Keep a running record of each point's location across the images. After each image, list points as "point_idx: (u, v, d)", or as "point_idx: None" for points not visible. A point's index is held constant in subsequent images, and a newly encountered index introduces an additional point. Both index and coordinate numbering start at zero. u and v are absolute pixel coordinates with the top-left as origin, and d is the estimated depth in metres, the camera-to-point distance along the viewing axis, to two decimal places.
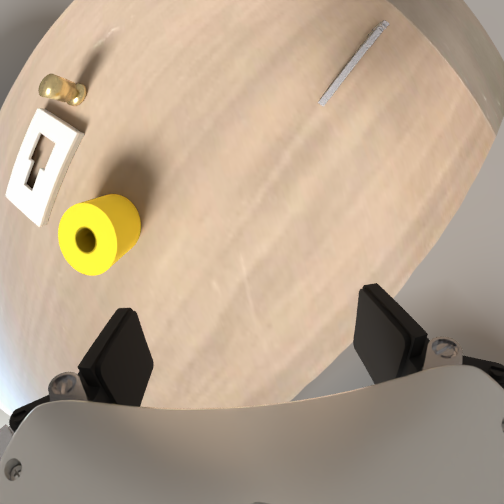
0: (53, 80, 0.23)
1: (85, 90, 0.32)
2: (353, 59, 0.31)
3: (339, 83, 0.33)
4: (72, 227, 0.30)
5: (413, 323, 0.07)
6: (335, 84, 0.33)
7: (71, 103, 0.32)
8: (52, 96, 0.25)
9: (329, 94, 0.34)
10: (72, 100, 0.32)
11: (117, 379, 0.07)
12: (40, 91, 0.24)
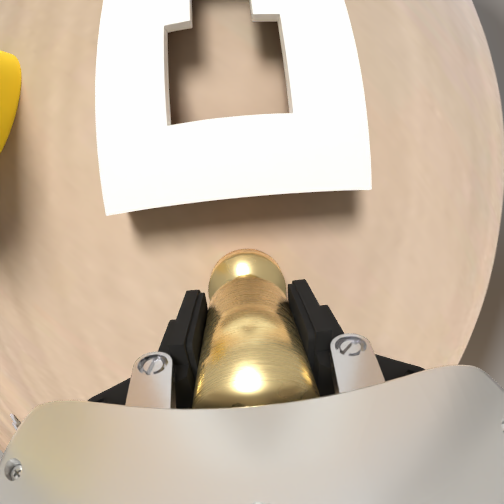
0: None
1: None
2: None
3: None
4: None
5: (322, 318, 0.08)
6: None
7: (234, 263, 0.13)
8: (204, 367, 0.07)
9: (15, 427, 0.20)
10: (238, 273, 0.14)
11: None
12: (284, 393, 0.06)
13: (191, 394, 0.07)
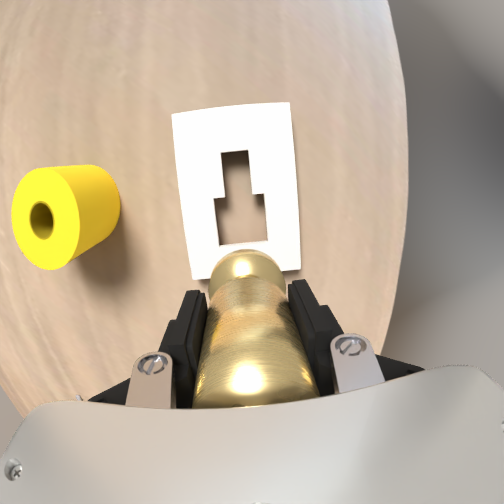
0: None
1: None
2: None
3: None
4: (60, 220, 0.20)
5: (322, 318, 0.08)
6: None
7: (234, 263, 0.13)
8: (204, 367, 0.07)
9: None
10: (238, 273, 0.14)
11: None
12: (284, 394, 0.06)
13: (191, 394, 0.07)
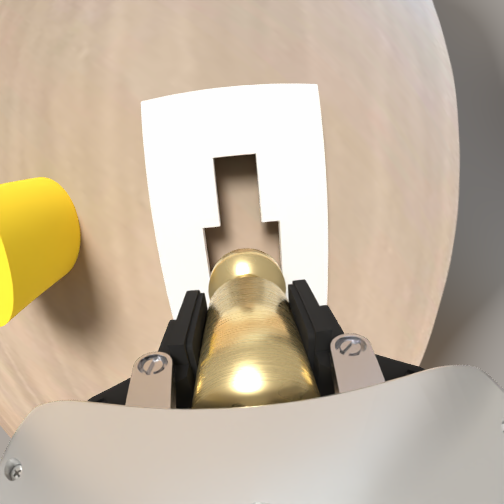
0: None
1: None
2: None
3: None
4: None
5: (322, 318, 0.08)
6: None
7: (234, 263, 0.13)
8: (203, 367, 0.07)
9: None
10: (238, 272, 0.13)
11: None
12: (284, 393, 0.06)
13: (191, 394, 0.07)
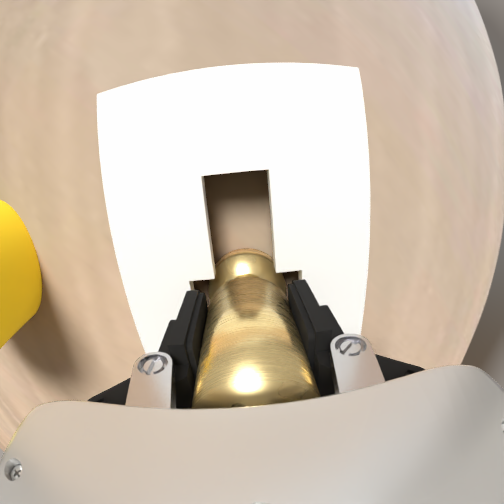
0: None
1: None
2: None
3: None
4: None
5: (322, 318, 0.08)
6: None
7: (234, 263, 0.13)
8: (203, 367, 0.07)
9: None
10: (238, 272, 0.14)
11: None
12: (284, 393, 0.06)
13: (191, 394, 0.07)
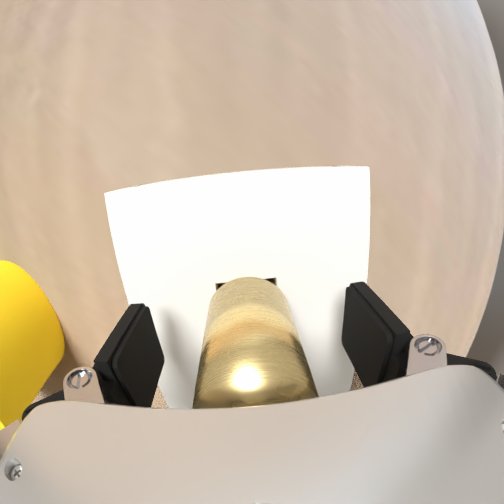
0: None
1: None
2: None
3: None
4: None
5: (396, 320, 0.07)
6: None
7: None
8: (204, 365, 0.07)
9: None
10: None
11: (132, 373, 0.08)
12: (282, 391, 0.06)
13: None
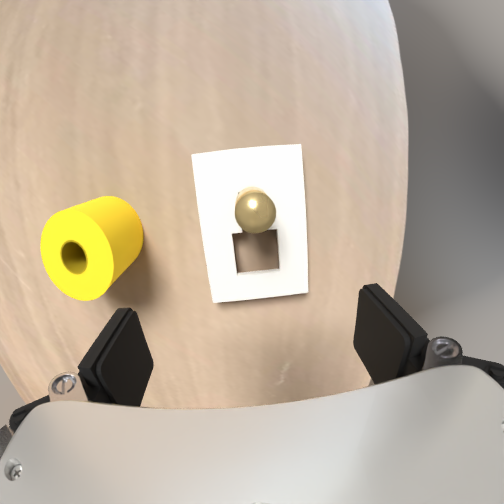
0: (246, 226, 0.24)
1: None
2: None
3: None
4: (94, 258, 0.24)
5: (413, 323, 0.07)
6: None
7: None
8: (238, 199, 0.24)
9: None
10: None
11: (117, 379, 0.07)
12: (262, 198, 0.23)
13: None
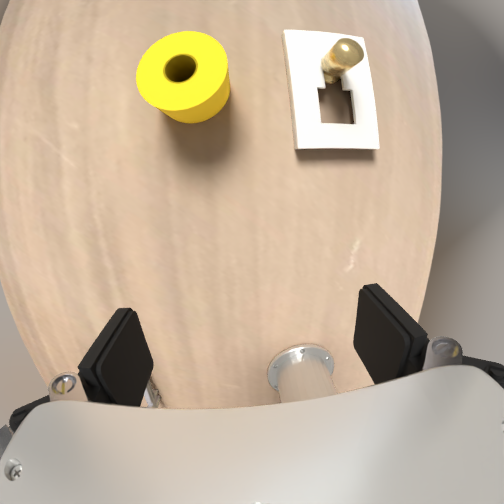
0: (344, 57, 0.23)
1: None
2: None
3: None
4: (205, 67, 0.23)
5: (413, 323, 0.07)
6: None
7: None
8: (334, 44, 0.24)
9: None
10: None
11: (117, 379, 0.07)
12: (353, 42, 0.22)
13: None
